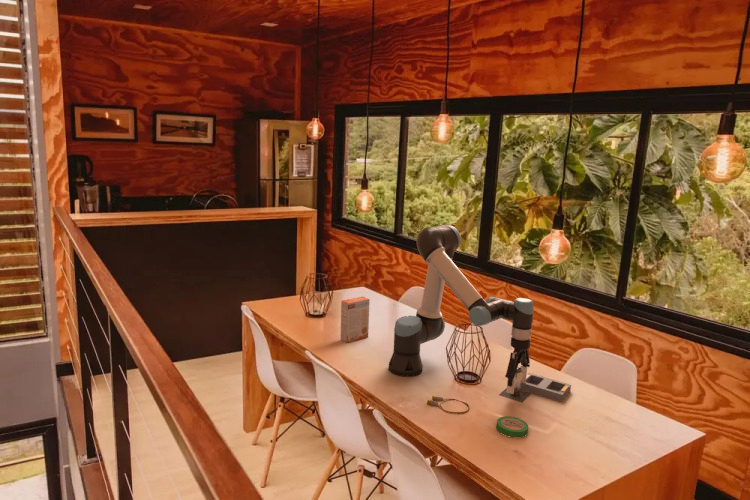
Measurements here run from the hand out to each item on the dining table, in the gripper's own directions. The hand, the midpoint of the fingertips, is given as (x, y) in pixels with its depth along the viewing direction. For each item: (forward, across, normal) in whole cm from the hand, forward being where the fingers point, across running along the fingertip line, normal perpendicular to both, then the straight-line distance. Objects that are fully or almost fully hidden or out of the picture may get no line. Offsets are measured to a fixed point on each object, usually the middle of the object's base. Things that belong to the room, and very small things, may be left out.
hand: (516, 387), depth 224 cm
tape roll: (+5, -26, -9) cm, 28 cm away
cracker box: (+3, +8, +88) cm, 89 cm away
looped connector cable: (+5, -24, +17) cm, 30 cm away
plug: (+3, 0, 0) cm, 3 cm away
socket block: (+4, +12, -8) cm, 15 cm away
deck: (+4, 0, 0) cm, 4 cm away
